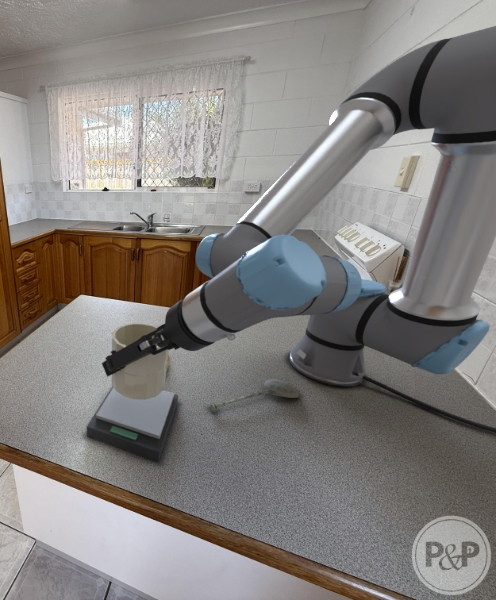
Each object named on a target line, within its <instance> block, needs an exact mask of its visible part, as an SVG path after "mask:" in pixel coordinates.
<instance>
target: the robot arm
mask: <svg viewBox="0 0 496 600" xmlns="http://www.w3.org/2000/svg"><path fill="white" fill-rule="evenodd" d="M328 123H329V125H328V126H327V127H326V128H325V129H324V130H323V132H321V133H320V135H319V136H318V137H317V138H316V139H315V140H314V141H313V142H312V143H311V144H310V145H309V146H308V147H307V149H306V150H305V151H304V152H303V153H302V154H301V155H300V156H299V157H298V158H297V159H296V160H295V161H294V162H293V163H292V164H291V165H290V167H288V168H287V170H286V171H285V172H283V174H282V175H281V176H280V177H279V178H278V179H277V180H276V181H275V182H274V183H273V184H272V186H271V187H269V188H268V190H267V191H266V192H265V193H264V194H263V195H262V196H261V197H260V198H259V199H258V200H257V201H256V202H255V203H254V205H252V207H251V208H250V209H249V210H248V211H247V212H246V213H245V214H244V215H243V216H242V217H241V218H240V219H239V220H238V221H237V222H236V224H235V225H234V226H233V227H232V228H231V229H230V230H229V231H228V232H227V233H224V232H221V233H220V232H215V233H211V234H209V235H207V236H205V237H204V238H203V239H202V240H201V241H200V243H199V244H198V246H197V248H196V250H195V251H196V252H195V264H196V267H197V269H198V270H199V272H201V273H202V274H204V275H205V276H207V277H209V278H210V279H209V280H207V281H205V282H204V283H203V284H201V285H200V286H198V287H197V288H195V289H194V290H193V291H191V292H189V293H188V294H186V296H185V297H183V298H182V299H180V300H179V301H177V302H175V304H173V305H172V306H171V307H170V308H168V310H167V312H166V314H165V319H164V323H163V324H161V325H159V326H157V327H158V328H157V329H156V330H155V331H153V332H151V333H149V334H147V335H143V336H142V337H141V338H139V339H138V340H137V341H135V342H133V343H131V344H130V345H128V346H126V347H124V348H122V349H121V350H119V351H117V352H116V350H113V351H112V350H111V351H110V354H109V355H106V357H105V360H104V361H103V362H101V365H102V367H103V370H104V372H105V375H106V377H107V378H108V377H110V376H112V374H114V373H116V372H118V371H119V370H121V369H123V368H125V367H126V365H128V364H131V363H133V362H135V361H137V360H139V359H141V358H143V357H145V356H147V355H149V354H152V355H156V354H159V353H161V352H163V351H165V350H168V351H170V350H173V349H174V350H175V351H177V350H179V349H182V350H184V351H188V352H197V351H200V350H202V349H204V348H207V347H209V346H211V345H213V344H215V343H216V342H219V341H221V340H223V339H225V338H227V340H228V341H230V342H231V341H234V340H235V339H236V335H235V334H237V333H239V332H241V331H244V330H245V329H248V328H251V327H253V326H255V325H257V324H260V323H263V322H265V321H268V320H270V319H277V318H278V319H279V318H289V317H297V316H309V318H308V321H307V325H306V328H305V332H304V334H303V336H302V337H301V338H300V339H299V341H298V342H297V343H296V344H295V345H294V347H292V349H291V351H290V354H289V359H288V361H289V363H290V365H291V366H292V367H293V368H294V369H295V370H296V372H299V373H300V374H301V375H303V376H305V377H307V378H308V379H311V380H313V381H315V382H319V383H322V384H325V385H327V386H328V385H329V386H333V387H342V388H348V387H349V388H351V387H355V386H358V385H360V384H361V383H362V382H363V381H366V382H369V383H371V384H373V385H375V386H378V387H379V388H382V389H384V390H386V391H388V392H389V393H392V394H393V395H396V396H399V397H400V398H402V399H404V400H407V401H409V402H412V403H414V404H416V405H418V406H420V407H423V408H425V409H428V410H430V411H432V412H434V413H437V414H439V415H442V416H445V417H447V418H450V419H452V420H455V421H457V422H460V423H463V424H466V425H469V426H472V427H475V428H478V429H482V430H485V431H488V432H491V433H495V434H496V427H494V426H490V425H487V424H483V423H480V422H476V421H473V420H471V419H467V418H464V417H461V416H460V415H459V416H458V415H456V414H453V413H450V412H448V411H445V410H442V409H440V408H438V407H436V406H433V405H430V404H428V403H426V402H424V401H421V400H419V399H416V398H415V397H412V396H410V395H407V394H405V393H404V392H401V391H399V390H398V389H397V390H396V389H394V388H393V387H392V386H391V387H390V386H388V385H386V384H384V383H381V382H380V381H377V380H375V379H373V378H371V377H369V376H366V375H365V374H366V367H365V356H364V348H365V347H367V348H368V349H369V348H370V349H372V350H375V351H377V352H379V353H382V354H384V355H386V356H389V357H391V358H394V359H396V360H398V361H401V362H404V363H406V364H407V365H411V367H412V368H418V369H420V370H423V371H426V372H428V373H431V374H434V375H446V374H449V373H450V372H452V371H454V370H455V369H456V368H457V367H458V366H460V365H461V364H462V363H463V362H464V361H465V360H466V359H467V358H468V357H470V355H471V354H472V353H473V352H474V351H475V350H476V349H477V347H478V346H479V345H480V344H481V343H482V341H483V340H484V339H485V337H486V335H488V332H489V331H490V327H491V325H490V324H489V323H488V322H487V321H484V320H483V319H478V316H479V314H480V311H481V307H480V304H479V303H477V301H475V300H474V299H473V298H472V295H473V293H474V291H475V288H476V286H477V284H478V281H479V279H480V276H481V273H482V272H483V269H484V266H485V264H486V263H487V262H486V261H487V259H488V257H489V254H490V252H491V249H492V247H493V245H494V242H495V240H496V25H493V26H490V27H485V28H483V29H479V30H475V31H472V32H468V33H463V34H460V35H457V36H453V37H449V38H443V39H439V40H436V41H431V42H428V43H427V44H425V45H423V46H420V47H418V48H415V49H414V50H412V51H410V52H408V53H406V54H404V55H402V56H401V57H399V58H398V59H395V60H394V61H392V62H391V63H390V64H388V65H386V66H385V67H383V68H382V69H381V70H379V71H378V72H376V73H375V74H373V76H371V77H370V78H369V79H367V80H366V81H365V82H363V84H361V85H360V86H358V87H357V88H356V89H355V90H354V91H352V93H350V95H349V96H348V97H347V98H345V100H343V102H342V103H340V105H339V106H338V107H337V108H336V109H335V110H334V112H333V113H332V114H331V116H330V118H329V122H328ZM430 129H433V133H432V135H431V136H432V137H431V139H430V145H431V146H432V147H433V148H435V149H436V150H437V152H439V154H440V155H439V159H438V160H439V161H438V163H437V167H436V169H435V170H436V171H435V174H434V177H433V181H432V185H431V188H430V191H429V195H428V197H427V202H426V204H425V209H424V212H423V215H422V219H421V222H420V226H419V229H418V232H417V236H416V239H415V242H414V247H413V250H412V253H411V257H410V260H409V263H408V267H407V270H406V273H405V276H404V281H403V284H402V287H400V288H398V289H395V290H393V291H391V292H390V293H389V294H387V291H388V289H387V286H386V285H385V284H384V283H381V282H379V281H375V280H369V279H362V276H361V273H360V272H359V270H358V268H357V267H356V266H355V265H354V264H353V263H351V262H350V261H349V260H346V259H343V258H339V257H336V256H331V255H318V254H317V253H316V252H315V251H314V249H312V247H311V246H310V245H308V243H306V242H305V241H300V240H298V238H297V237H295V236H293V235H292V234H293V233H294V232H295V231H296V230H297V229H298V228H299V226H300V225H301V224H302V223H303V222H304V221H305V220H306V219H307V218H308V217H309V216H310V215H311V214H312V212H313V211H314V210H316V208H318V206H319V205H320V204H321V203H322V202H323V201H324V200H325V199H326V198H327V196H329V194H331V193H332V191H333V190H334V189H336V187H337V186H338V185H339V184H340V183H341V182H342V181H343V180H344V178H345V177H346V176H347V175H348V174H349V173H350V172H352V170H353V169H354V168H355V167H356V166H357V165H358V164H359V163H360V162H361V161H362V160H363V158H365V156H366V155H367V154H368V153H369V152H370V151H372V150H376V149H378V148H381V147H382V146H384V145H385V144H386V143H387V142H388V141H389V140H391V138H392V137H394V136H395V135H397V134H400V133H404V132H408V131H413V130H430ZM152 336H154V338H152ZM156 344H157V345H158V347H160V348H161V349H159V350H158V349H157V348H156V346H155V345H156ZM162 347H163V348H162Z"/></svg>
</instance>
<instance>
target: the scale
mask: <svg viewBox="0 0 496 600" xmlns="http://www.w3.org/2000/svg"><path fill="white" fill-rule="evenodd" d="M178 402H179V394H175V392H172V391H168V390H165V389H163V391H162V392H161V393H160V394H159V395H157V396H156V397H154V398H150V399H146V400H136V399H131V398H128V397H125V396H123V395H121V394H120V393H118V392H117V391H116V390H115V389H114V387H113V385H111V388H110V389H109V391H108V393H107V394H106V396H105V397H104V399H103V400H102V402H101V404H100V405H99V407H98V409H97V410H96V411H95V413H94V414H93V416H92V418H91V419H90V421H89V422H88V424H87V425H86V437H88V438H91V439H94V440H96V441H100V442H101V443H104V444H108V445H110V446H113V447H116V448H117V449H118V448H119V449H121V450H124V451H127V452H129V453H132V454H135V455H138V456H141V457H143V458H146V459H148V460H151V461H154V462H156V463H160V459H161V456H162V453H163V449H164V447H165V444H166V440H167V437H168V434H169V431H170V428H171V424H172V423H173V422H172V421H173V419H174V415H175V412H176V409H177V406H178Z"/></svg>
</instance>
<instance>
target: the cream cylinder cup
mask: <svg viewBox="0 0 496 600" xmlns="http://www.w3.org/2000/svg"><path fill="white" fill-rule="evenodd" d="M158 327H159V326H157V325H154V324H150V323H146V322H145V323H144V322H130V323H124V324H122V325H120V326H117V327H116V328H115V329H114V330H113V331H112V333H111V351H113V350H116V352H117V351H119V350H121V349H122V348H124V347H126V346H128V345H130V344H131V343H133V342H135V341H137V340H138V339H139V338H141V337H142V336H143V335H147V334H149V333H151V332H153V331H155V330H156V329H157V328H158ZM152 338H154V336H152ZM155 346H156V348H157V349H158V350H159V349H161V348H160V347H158V345H157V344H156V345H155ZM162 348H163V347H162ZM168 354H169V350H165V351H163V352H161V353H159V354H156V355H152V354H149V355H147V356H145V357H143V358H141V359H139V360H137V361H135V362H133V363H131V364H128V365H126V367H125V368H123V369H121V370H119V371H118V372H116V373H114V374H112V375H111V386H113V387H114V389H115V390H116V391H117V392H118V393H120V394H121V395H123V396H125V397H128V398H131V399H136V400H146V399H150V398H154V397H156V396H157V395H159V394H160V393H161V392H162V391H163V390H165V389H164V388H165V386H166V377H167V372H166V367H167V356H168Z"/></svg>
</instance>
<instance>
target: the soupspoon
mask: <svg viewBox="0 0 496 600" xmlns="http://www.w3.org/2000/svg"><path fill="white" fill-rule="evenodd" d="M263 387H264V390H259V391H255V392H252V393H247V394H246V395H242V396H240V397H236V398H232V399H230V400H226V401H221V402H218V403H214V404H213V403H210V404H209V407H210V409H211V411H212V412H213V413H216V410H219V409H220V408H222V407H226V406H227V405H231V404H234V403H237V402H242V401H244V400H247V399H251V398H254V397H258V396H263V395H266V394H269V395H272V396H275V397H281V398H282V397H283V398H287V399H288V398H290V399H293V398H294V399H295V398H300V394H299V392H298V391H297V390H296V389H295V388H294V387H293V386H292V385H290V384H289V383H287V382H286V381H284V380H281V379H276V378H269V379H266V380H265V381H264V384H263Z"/></svg>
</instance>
